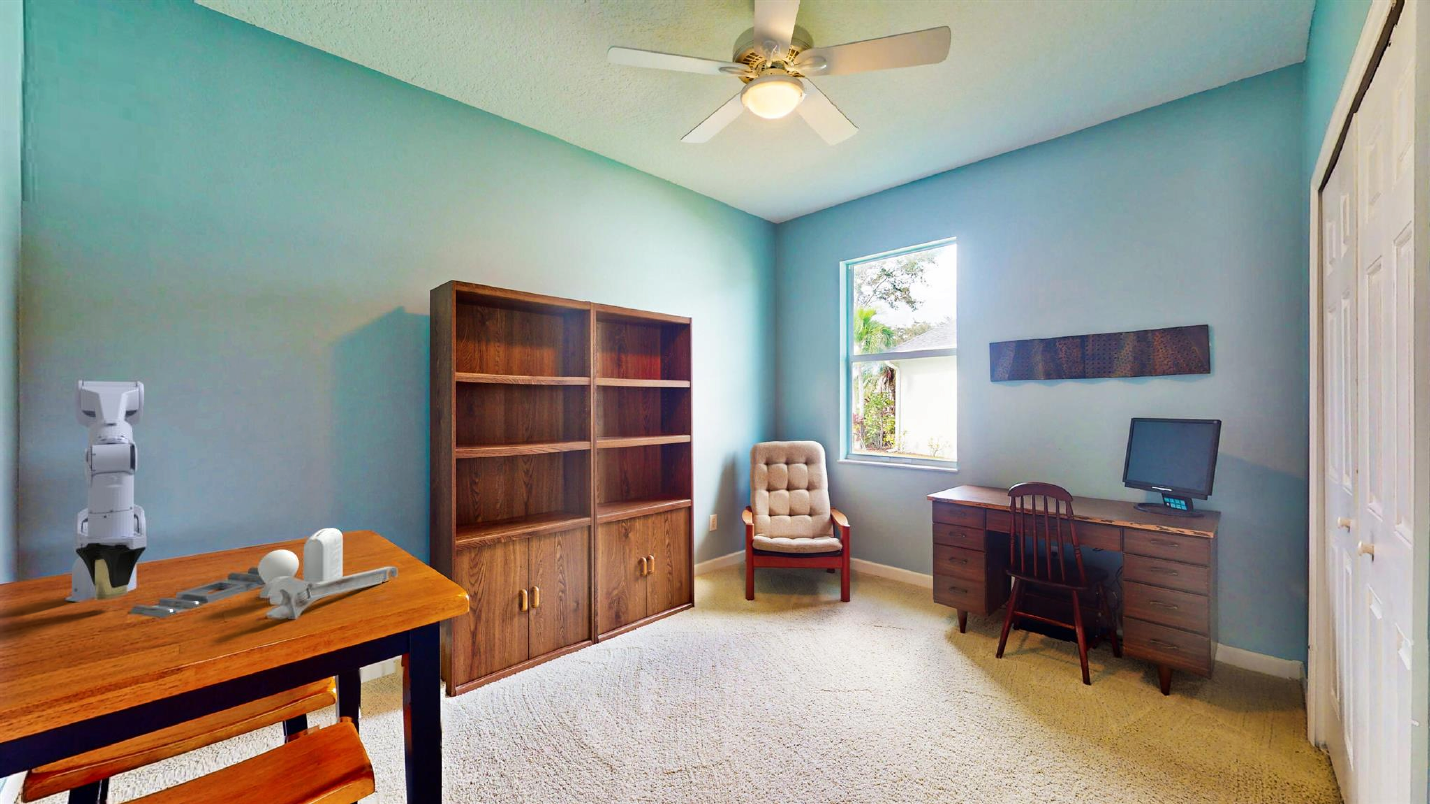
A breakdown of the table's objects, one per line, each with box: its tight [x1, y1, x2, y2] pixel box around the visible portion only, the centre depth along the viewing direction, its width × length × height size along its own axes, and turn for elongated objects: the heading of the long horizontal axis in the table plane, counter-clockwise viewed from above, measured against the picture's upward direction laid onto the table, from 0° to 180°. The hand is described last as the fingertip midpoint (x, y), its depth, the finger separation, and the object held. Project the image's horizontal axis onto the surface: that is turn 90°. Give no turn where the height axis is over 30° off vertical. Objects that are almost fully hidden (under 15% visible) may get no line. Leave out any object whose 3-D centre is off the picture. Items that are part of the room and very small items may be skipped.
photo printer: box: [302, 527, 344, 583], centre depth 118 cm, size 10×4×12 cm, turn 13°
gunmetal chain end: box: [176, 566, 266, 604], centre depth 114 cm, size 8×15×3 cm, turn 166°
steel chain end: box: [130, 588, 247, 619], centre depth 107 cm, size 8×15×2 cm, turn 166°
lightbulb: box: [257, 549, 300, 606], centre depth 107 cm, size 6×6×11 cm
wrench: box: [259, 566, 399, 620], centre depth 111 cm, size 8×2×30 cm
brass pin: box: [94, 557, 128, 601], centre depth 102 cm, size 4×4×7 cm
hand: (111, 585), depth 102 cm, fingers closed on brass pin, 4 cm apart
